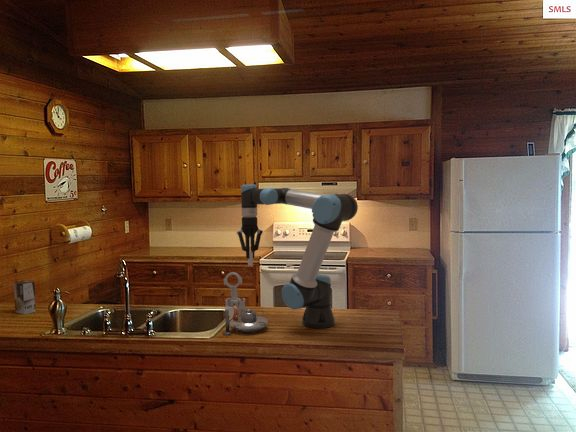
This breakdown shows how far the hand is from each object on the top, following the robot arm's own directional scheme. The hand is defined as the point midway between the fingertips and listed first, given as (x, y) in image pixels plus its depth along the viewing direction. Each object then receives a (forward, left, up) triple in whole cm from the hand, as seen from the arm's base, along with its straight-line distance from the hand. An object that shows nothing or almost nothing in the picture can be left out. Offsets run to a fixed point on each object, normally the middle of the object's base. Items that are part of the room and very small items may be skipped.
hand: (250, 265), depth 229 cm
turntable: (-10, +14, -24) cm, 30 cm away
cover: (-10, +14, -23) cm, 28 cm away
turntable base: (-10, +14, -26) cm, 32 cm away
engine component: (+16, -6, -27) cm, 32 cm away
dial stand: (-6, +24, -26) cm, 36 cm away
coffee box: (+110, +53, -27) cm, 125 cm away
